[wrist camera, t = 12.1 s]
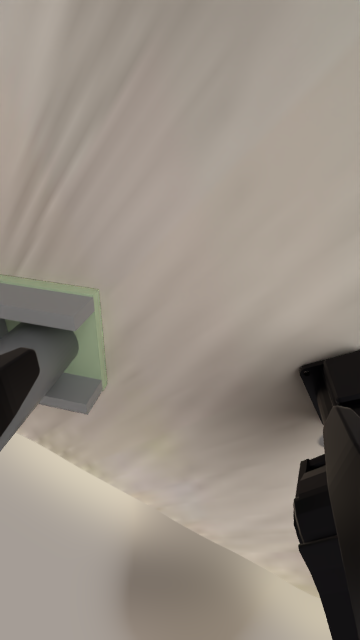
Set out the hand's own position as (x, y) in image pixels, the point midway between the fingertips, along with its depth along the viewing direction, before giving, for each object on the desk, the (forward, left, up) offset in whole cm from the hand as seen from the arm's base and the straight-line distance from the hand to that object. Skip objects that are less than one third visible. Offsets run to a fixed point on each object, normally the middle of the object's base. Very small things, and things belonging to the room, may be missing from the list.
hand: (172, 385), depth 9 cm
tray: (0, +16, -13) cm, 21 cm away
